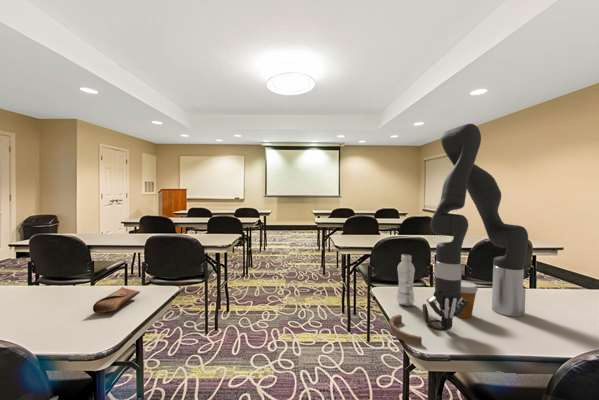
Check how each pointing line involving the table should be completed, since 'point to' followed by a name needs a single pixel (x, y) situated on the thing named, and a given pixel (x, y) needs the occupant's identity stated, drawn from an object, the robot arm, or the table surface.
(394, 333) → the brown segmented arc
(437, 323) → the compass
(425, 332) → the table surface
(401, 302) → the plastic bottle
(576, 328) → the table surface
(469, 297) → the disposable coffee cup
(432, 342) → the table surface
